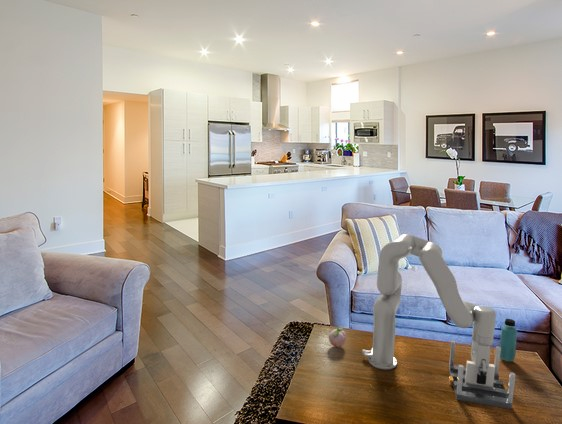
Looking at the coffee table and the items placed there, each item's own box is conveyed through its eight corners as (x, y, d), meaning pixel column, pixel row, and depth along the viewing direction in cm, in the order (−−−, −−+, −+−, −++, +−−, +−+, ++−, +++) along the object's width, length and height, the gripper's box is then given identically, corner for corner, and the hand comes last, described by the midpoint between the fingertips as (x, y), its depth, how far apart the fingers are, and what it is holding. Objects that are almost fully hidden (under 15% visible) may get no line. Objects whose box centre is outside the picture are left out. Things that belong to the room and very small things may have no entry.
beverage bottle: (516, 365, 168) (521, 324, 165) (500, 363, 169) (505, 322, 166) (511, 357, 174) (515, 317, 171) (495, 355, 176) (499, 316, 172)
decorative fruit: (331, 341, 189) (331, 322, 187) (347, 344, 186) (347, 325, 184) (326, 350, 180) (326, 330, 179) (342, 353, 177) (343, 334, 176)
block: (465, 385, 152) (467, 363, 150) (464, 382, 154) (466, 360, 152) (492, 389, 149) (495, 367, 148) (491, 386, 151) (493, 364, 150)
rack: (453, 398, 145) (456, 366, 143) (445, 369, 165) (448, 339, 163) (515, 409, 139) (519, 375, 137) (499, 377, 159) (503, 347, 157)
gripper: (468, 326, 158) (464, 364, 160) (476, 346, 141) (472, 388, 144) (487, 328, 155) (483, 367, 158) (498, 350, 139) (494, 392, 142)
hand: (478, 377), depth 151 cm, fingers open, 7 cm apart
